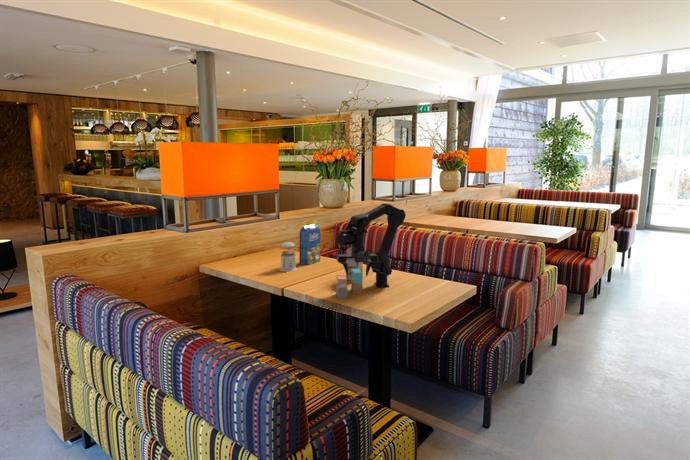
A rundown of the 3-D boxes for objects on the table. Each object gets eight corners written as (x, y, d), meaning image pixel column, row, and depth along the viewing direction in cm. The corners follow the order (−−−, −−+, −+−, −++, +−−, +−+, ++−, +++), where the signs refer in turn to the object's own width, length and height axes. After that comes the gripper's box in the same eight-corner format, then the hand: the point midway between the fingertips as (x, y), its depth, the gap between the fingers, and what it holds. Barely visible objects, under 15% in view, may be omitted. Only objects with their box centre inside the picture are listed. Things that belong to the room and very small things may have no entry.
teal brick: (351, 279, 215) (351, 269, 214) (359, 279, 216) (359, 268, 215) (353, 283, 208) (354, 273, 207) (362, 283, 209) (362, 272, 208)
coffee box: (357, 281, 229) (358, 250, 227) (345, 279, 231) (346, 249, 229) (362, 276, 238) (363, 246, 235) (351, 275, 240) (351, 245, 237)
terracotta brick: (336, 285, 223) (336, 275, 222) (344, 284, 223) (344, 275, 222) (338, 289, 216) (338, 279, 215) (346, 289, 217) (346, 278, 216)
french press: (293, 266, 257) (293, 222, 253) (300, 271, 247) (300, 226, 242) (277, 267, 253) (276, 223, 248) (283, 273, 242) (283, 227, 238)
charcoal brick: (336, 294, 209) (336, 283, 208) (344, 293, 209) (345, 283, 209) (338, 298, 202) (338, 288, 201) (347, 298, 203) (347, 287, 202)
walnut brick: (351, 289, 216) (351, 279, 215) (359, 289, 217) (359, 279, 216) (353, 293, 209) (354, 283, 208) (362, 293, 210) (362, 283, 209)
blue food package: (299, 263, 263) (299, 221, 259) (312, 259, 273) (312, 218, 269) (307, 265, 260) (307, 222, 255) (320, 261, 270) (320, 219, 265)
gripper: (340, 247, 199) (339, 281, 202) (381, 246, 202) (380, 280, 205) (336, 242, 210) (336, 274, 213) (375, 241, 213) (374, 273, 216)
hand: (357, 275), depth 211 cm, fingers open, 9 cm apart
